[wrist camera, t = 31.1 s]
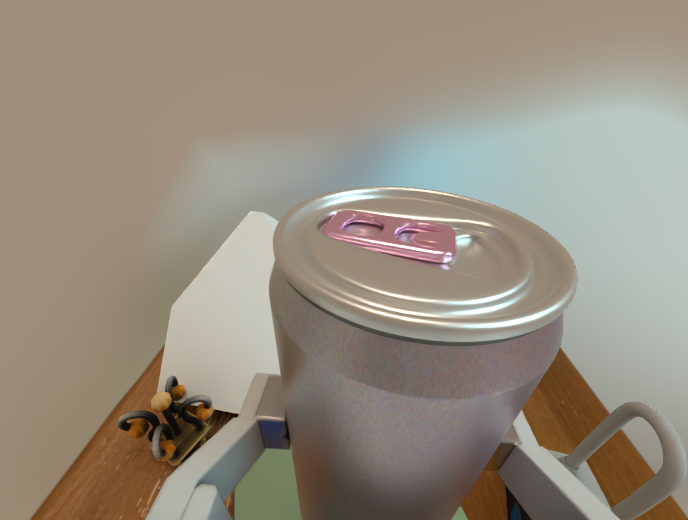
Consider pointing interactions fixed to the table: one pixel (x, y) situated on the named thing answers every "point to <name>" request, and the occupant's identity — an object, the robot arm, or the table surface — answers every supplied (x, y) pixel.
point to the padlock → (576, 460)
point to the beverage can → (408, 344)
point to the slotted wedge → (225, 320)
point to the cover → (274, 490)
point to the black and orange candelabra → (171, 424)
